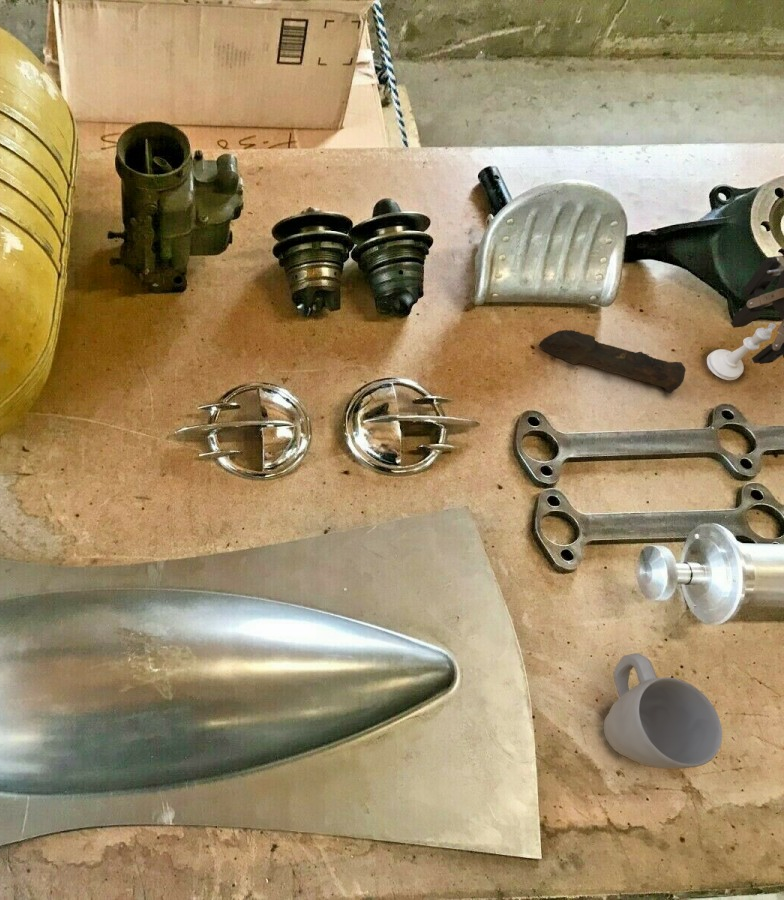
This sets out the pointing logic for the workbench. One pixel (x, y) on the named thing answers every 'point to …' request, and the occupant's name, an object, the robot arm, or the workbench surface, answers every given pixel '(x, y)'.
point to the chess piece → (736, 355)
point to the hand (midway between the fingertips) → (747, 342)
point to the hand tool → (613, 359)
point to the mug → (661, 719)
